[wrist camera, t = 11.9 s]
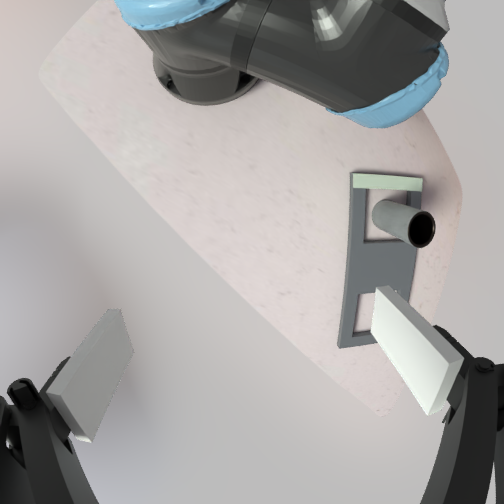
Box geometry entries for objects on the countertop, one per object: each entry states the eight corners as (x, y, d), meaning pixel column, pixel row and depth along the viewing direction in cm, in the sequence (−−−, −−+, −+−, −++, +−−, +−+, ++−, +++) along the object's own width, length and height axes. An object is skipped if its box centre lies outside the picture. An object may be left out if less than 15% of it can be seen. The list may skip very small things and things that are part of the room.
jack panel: (350, 173, 37) (353, 173, 36) (417, 177, 38) (422, 178, 36) (337, 344, 45) (339, 349, 44) (396, 335, 46) (399, 339, 44)
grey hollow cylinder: (379, 194, 38) (418, 204, 28) (401, 208, 39) (441, 222, 29) (366, 221, 39) (401, 238, 30) (388, 234, 40) (425, 254, 30)
